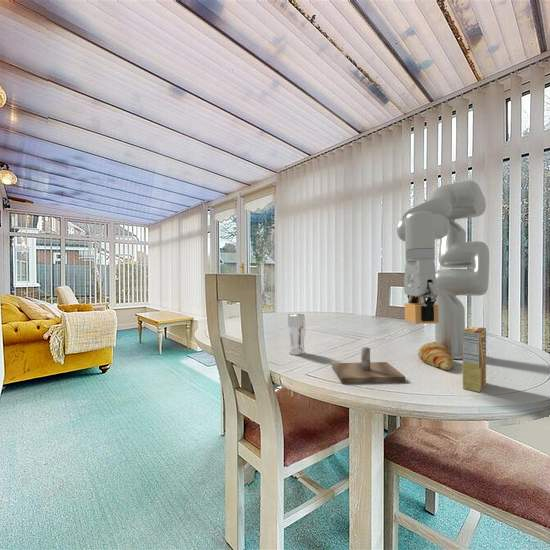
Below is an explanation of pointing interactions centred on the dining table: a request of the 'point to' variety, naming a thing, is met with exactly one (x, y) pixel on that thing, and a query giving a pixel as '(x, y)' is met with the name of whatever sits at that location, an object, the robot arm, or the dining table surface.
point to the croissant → (436, 355)
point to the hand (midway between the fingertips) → (421, 318)
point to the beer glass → (296, 333)
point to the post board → (367, 371)
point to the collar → (418, 313)
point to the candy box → (474, 358)
